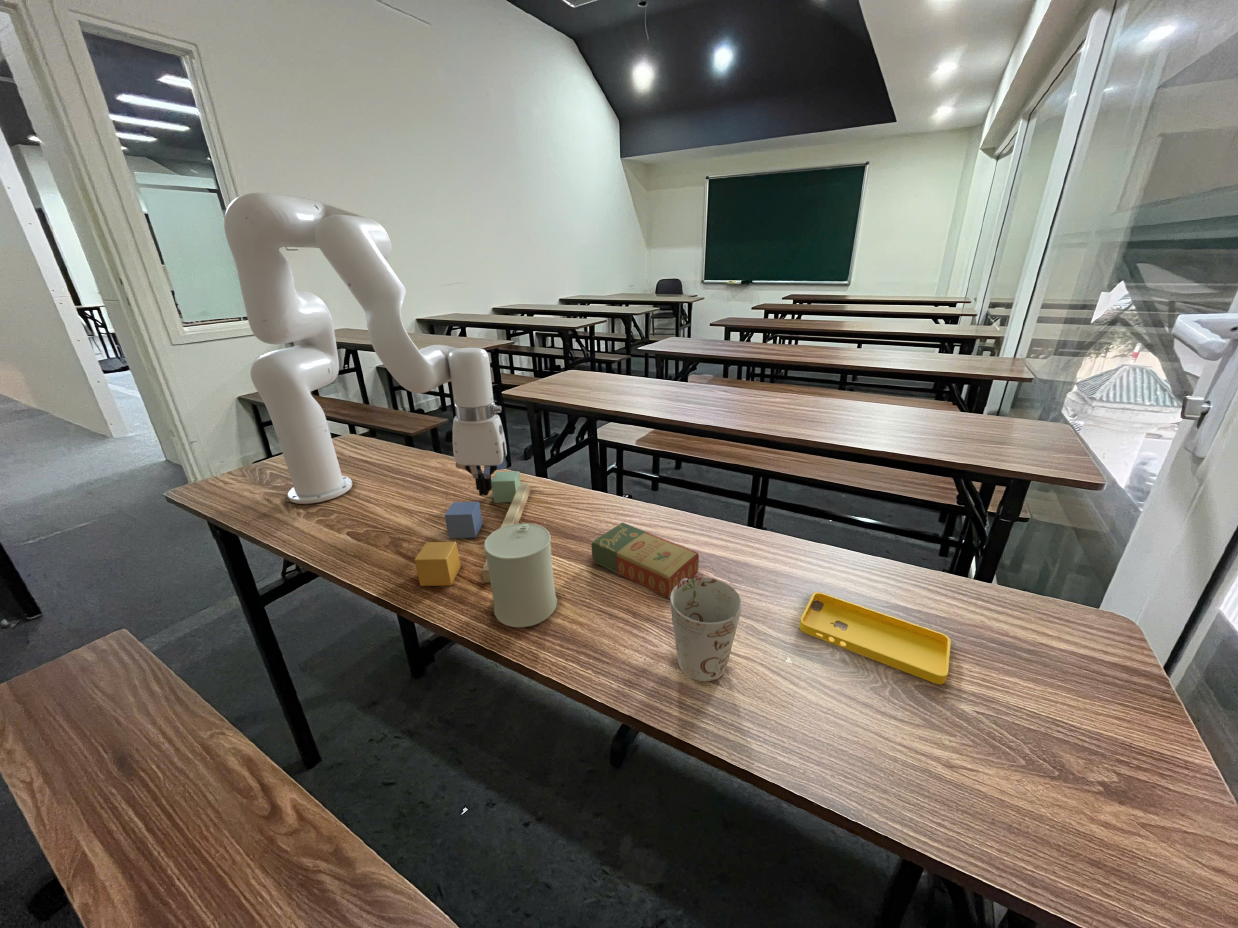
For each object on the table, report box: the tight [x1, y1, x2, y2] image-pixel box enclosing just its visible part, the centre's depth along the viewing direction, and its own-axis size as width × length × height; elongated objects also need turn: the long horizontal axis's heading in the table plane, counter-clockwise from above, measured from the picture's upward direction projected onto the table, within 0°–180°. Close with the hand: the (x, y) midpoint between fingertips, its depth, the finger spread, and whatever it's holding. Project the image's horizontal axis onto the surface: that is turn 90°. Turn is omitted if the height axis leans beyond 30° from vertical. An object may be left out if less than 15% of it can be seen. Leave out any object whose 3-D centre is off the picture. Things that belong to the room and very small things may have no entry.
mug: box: [669, 577, 743, 682], centre depth 60 cm, size 8×13×10 cm, turn 16°
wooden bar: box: [481, 482, 531, 584], centre depth 91 cm, size 32×2×2 cm, turn 0°
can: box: [483, 522, 558, 628], centre depth 69 cm, size 9×9×12 cm
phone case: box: [798, 591, 952, 685], centre depth 63 cm, size 8×17×1 cm, turn 55°
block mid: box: [444, 501, 484, 539], centre depth 90 cm, size 5×5×5 cm
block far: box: [491, 470, 522, 504], centre depth 103 cm, size 5×5×5 cm
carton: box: [591, 522, 700, 599], centre depth 78 cm, size 8×16×4 cm, turn 49°
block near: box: [413, 541, 462, 587], centre depth 77 cm, size 5×5×5 cm
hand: (485, 492), depth 103 cm, fingers closed
